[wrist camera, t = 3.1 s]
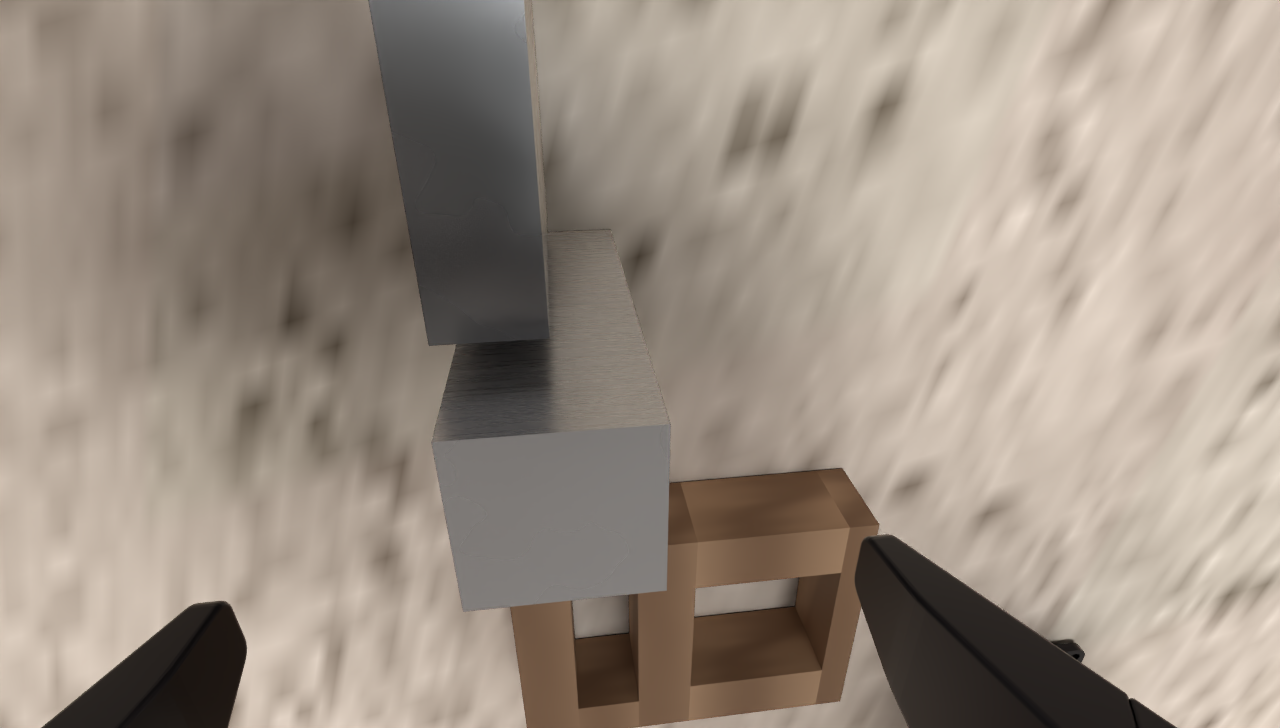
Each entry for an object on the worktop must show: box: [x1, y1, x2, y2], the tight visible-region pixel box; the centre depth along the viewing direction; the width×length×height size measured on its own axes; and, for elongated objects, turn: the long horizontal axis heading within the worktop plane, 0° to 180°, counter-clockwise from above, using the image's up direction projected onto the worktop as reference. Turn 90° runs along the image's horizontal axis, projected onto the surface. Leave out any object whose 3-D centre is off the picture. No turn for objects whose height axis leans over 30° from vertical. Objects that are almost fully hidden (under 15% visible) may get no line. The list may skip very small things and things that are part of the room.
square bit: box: [431, 229, 671, 612], centre depth 15 cm, size 4×4×10 cm
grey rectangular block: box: [368, 0, 550, 346], centre depth 13 cm, size 2×5×8 cm, turn 0°
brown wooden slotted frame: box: [510, 468, 879, 728], centre depth 24 cm, size 12×9×3 cm
